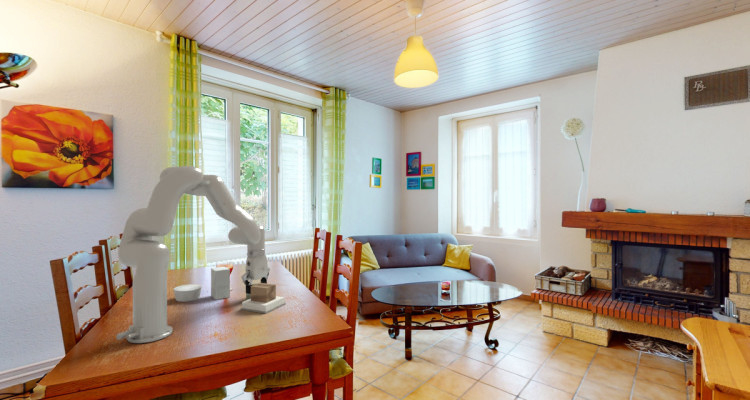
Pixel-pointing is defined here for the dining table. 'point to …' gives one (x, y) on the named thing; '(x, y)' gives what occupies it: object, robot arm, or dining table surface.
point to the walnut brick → (263, 292)
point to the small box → (220, 282)
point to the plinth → (263, 305)
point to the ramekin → (187, 292)
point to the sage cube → (248, 296)
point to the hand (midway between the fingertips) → (256, 290)
